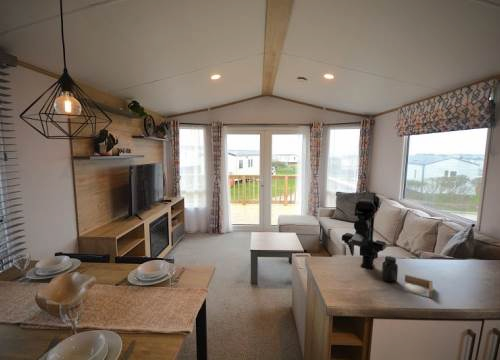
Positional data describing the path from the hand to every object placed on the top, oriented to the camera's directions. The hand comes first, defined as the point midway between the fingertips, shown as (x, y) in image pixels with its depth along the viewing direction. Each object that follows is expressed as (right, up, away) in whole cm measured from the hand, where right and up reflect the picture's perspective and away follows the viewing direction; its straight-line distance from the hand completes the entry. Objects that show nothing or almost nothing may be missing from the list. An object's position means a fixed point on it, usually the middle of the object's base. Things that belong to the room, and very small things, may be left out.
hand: (362, 258), depth 116 cm
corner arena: (+26, -15, 0) cm, 30 cm away
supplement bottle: (+17, -14, +7) cm, 23 cm away
